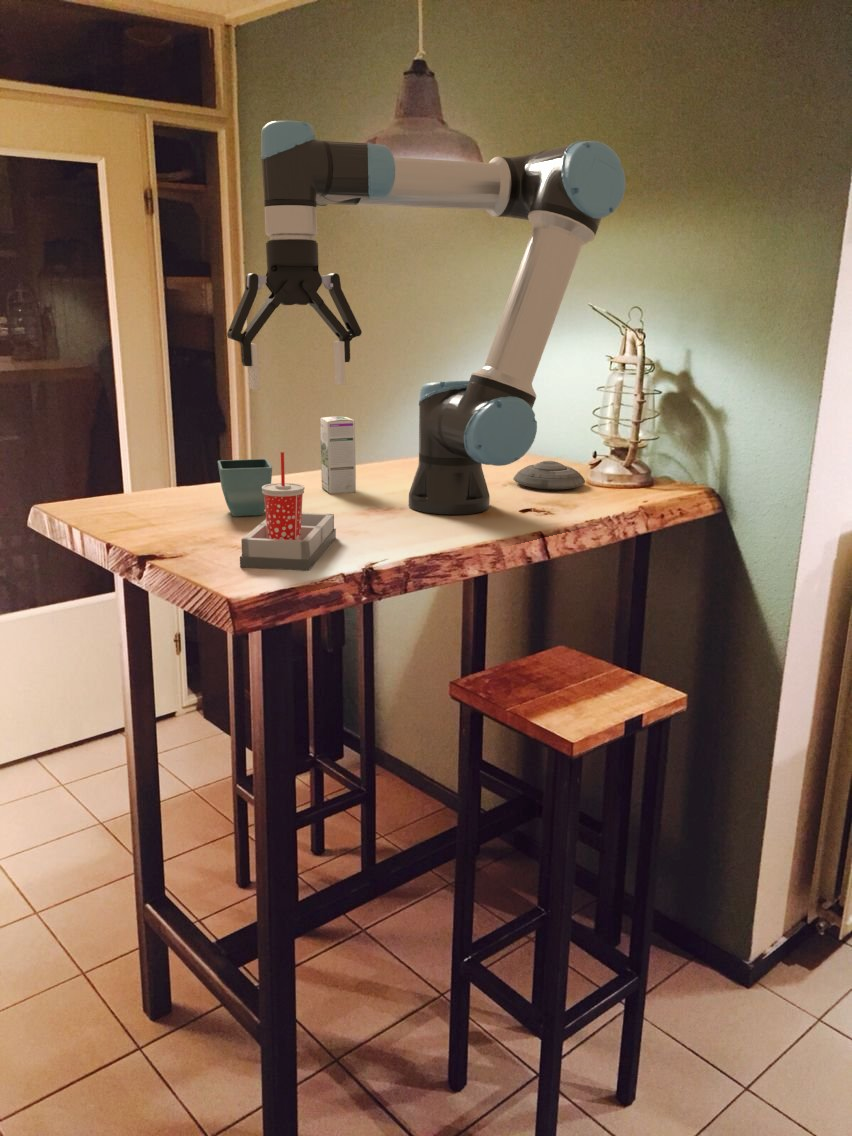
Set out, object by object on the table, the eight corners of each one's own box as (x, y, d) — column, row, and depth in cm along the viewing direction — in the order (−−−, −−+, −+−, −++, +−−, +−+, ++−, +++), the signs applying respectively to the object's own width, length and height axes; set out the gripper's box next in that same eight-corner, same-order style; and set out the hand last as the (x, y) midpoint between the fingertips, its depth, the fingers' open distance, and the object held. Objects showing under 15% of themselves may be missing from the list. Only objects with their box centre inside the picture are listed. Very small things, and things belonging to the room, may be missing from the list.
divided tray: (335, 537, 150) (335, 513, 149) (308, 570, 132) (308, 543, 131) (275, 534, 151) (274, 510, 150) (240, 567, 133) (239, 539, 132)
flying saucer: (594, 484, 200) (595, 459, 198) (570, 496, 187) (572, 469, 186) (528, 477, 207) (529, 452, 205) (501, 488, 194) (503, 462, 192)
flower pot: (222, 520, 161) (220, 468, 158) (219, 509, 169) (217, 459, 166) (273, 518, 163) (272, 467, 160) (268, 507, 171) (267, 458, 168)
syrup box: (356, 492, 185) (356, 419, 181) (327, 494, 183) (327, 420, 179) (348, 487, 190) (348, 415, 186) (320, 488, 188) (319, 416, 184)
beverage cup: (286, 539, 142) (284, 447, 138) (314, 546, 138) (312, 452, 134) (254, 546, 137) (251, 451, 133) (282, 554, 133) (279, 457, 129)
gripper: (361, 241, 145) (365, 380, 151) (200, 238, 134) (210, 388, 141) (380, 239, 138) (383, 384, 144) (212, 236, 128) (222, 393, 134)
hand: (298, 386), depth 142 cm, fingers open, 13 cm apart
